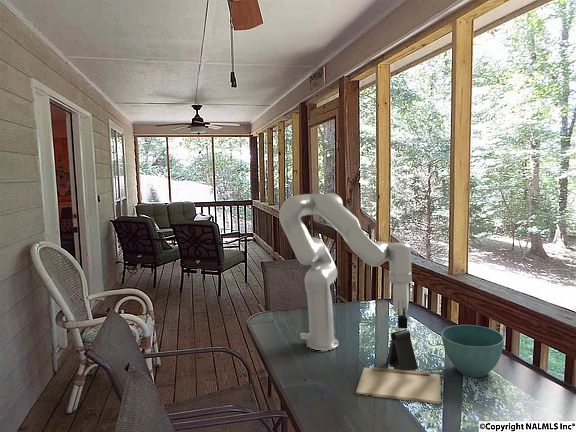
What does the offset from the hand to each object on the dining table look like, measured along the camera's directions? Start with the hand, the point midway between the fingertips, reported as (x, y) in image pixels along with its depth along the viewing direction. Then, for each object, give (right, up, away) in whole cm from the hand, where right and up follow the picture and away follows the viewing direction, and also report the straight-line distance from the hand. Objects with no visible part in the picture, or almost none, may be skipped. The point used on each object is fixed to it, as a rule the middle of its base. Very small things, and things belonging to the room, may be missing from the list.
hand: (402, 327), depth 146 cm
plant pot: (+19, -11, -14) cm, 26 cm away
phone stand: (-2, -11, -7) cm, 13 cm away
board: (-7, -12, -20) cm, 25 cm away
